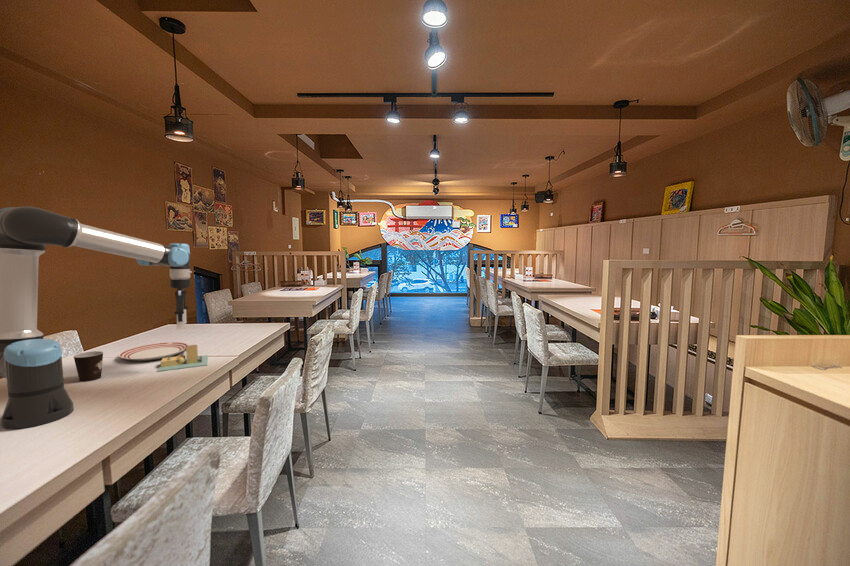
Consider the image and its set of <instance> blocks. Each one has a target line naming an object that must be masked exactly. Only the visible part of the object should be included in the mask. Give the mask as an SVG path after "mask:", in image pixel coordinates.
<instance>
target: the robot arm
mask: <svg viewBox="0 0 850 566" xmlns="http://www.w3.org/2000/svg"><path fill="white" fill-rule="evenodd" d="M48 245H49V246H57V247H62V248H70V247H72V246H73V247H78V248H83V249H88V250H92V251H97V252H101V253H105V254H106V253H107V254H110V255H116V256H122V257H124V258H125V257H126V258H130V259H134V260H135V261H136V262H137V264H138V265H139V266H145V267H146V266H147V267H149V266H150V267H151V266H152V267H153V266H154V267H155V266H156V267H158V266H159V267H169V278H170V280H169V282H170V283H169V285H170V286H169V287H170V288H171V289H176V291H175V292H174V295H175V301H176V302H175V306H176V308H175V312H174V315H176V330H185V328H186V327H185V326H186V325H185V324H187V323H188V322H187V310H188V309H189V307H188V306H187V301H186V300H187V291H186V289H187V288H191V287H192V286H191V285H192V279H191V274H192V273H193V271H192V270H191V252H190V251H191V249H190V245H189V244H188V243H177V242H174V243H173V242H172V243H169V244H168V245H165V244H161V243H159V242H154V241H149V240H145V239H141V238H138V237H134V236H131V235H128V234H122V233H119V232H115V231H110V230H107V229H103V228H99V227H95V226H92V225H87V224H83V223H81V222H80V221H79V220H78V219H77V218H73V217H69V216H66V215H63V214H59V213H57V212H54V211H49V210H46V209H44V208H40V207H36V206H35V207H34V206H28V205H27V206H24V205H23V206H16V207H15V206H14V207H13V206H12V207H11V206H10V207H5V208H1V209H0V377H1V378H4V379H6V387H7V394H8V395H7V397H8V399H7V402H6V404H5V405H6V406H5V408H4V410H3V413H2V415H1V418H0V419H1V427H2V428H4V429H13V430H15V429H24V428H25V429H26V428H31V427H37V426H40V425H45V424H47V423H51V422H54V421H57V420H60V419H62V418H65V417H67V416H68V415H71V413H73V412H74V410H75V409H74V401H73V400H72V398H71V397H70V395H69V394H68V391H67V390H66V388H65V385H64V384H65V383H64V381H65V380H64V371H63V357H62V355H63V351H62V348H61V344H60V342H59V341H57V340H54V339H49V338H44V333H43V332H42V331H41V330H39V329H38V305H39V303H38V301H39V300H38V299H39V296H38V295H39V294H38V293H39V267H40V266H39V262H40V261H39V259H40V256H41V255H43V254H44V253H46V249H47V248H46V247H47V246H48Z"/></svg>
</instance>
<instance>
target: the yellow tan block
mask: <svg viewBox="0 0 850 566" xmlns="http://www.w3.org/2000/svg"><path fill="white" fill-rule="evenodd" d="M188 345H189V344H188ZM184 352H186V353H185V354H186V355H185V356H186V358H187V364H191V363H197V362H198V344H191V345H189V346H187V347H185V349H184Z"/></svg>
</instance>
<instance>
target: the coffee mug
mask: <svg viewBox="0 0 850 566" xmlns="http://www.w3.org/2000/svg"><path fill="white" fill-rule="evenodd" d="M103 359H104V351H100V350H98V351H97V350H95V351H93V350H92V351H87V352H81V353H78V354H74V355H73V361H74V364H75V369H76V371H77V375H78V381H79V382H84V383H85V382H92V381H96V380H98V379H101V378H102V374H103V373H102V371H103Z"/></svg>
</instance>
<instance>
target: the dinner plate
mask: <svg viewBox="0 0 850 566" xmlns="http://www.w3.org/2000/svg"><path fill="white" fill-rule="evenodd" d="M187 346H189V344H188V343H187V342H182V341H166V342H155V343H149V344H143V345H140V346H135V347H132V348H127V349H126V350H124V351H121V352H120V353H119V354H118V358H120V359H123V360H128V361H134V362H135V361H136V362H146V361H148V362H149V361H156V360H162V358H168V357H175V356H176V355H177V354H181V353H182V352H185V350H184V349H185V347H187Z"/></svg>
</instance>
